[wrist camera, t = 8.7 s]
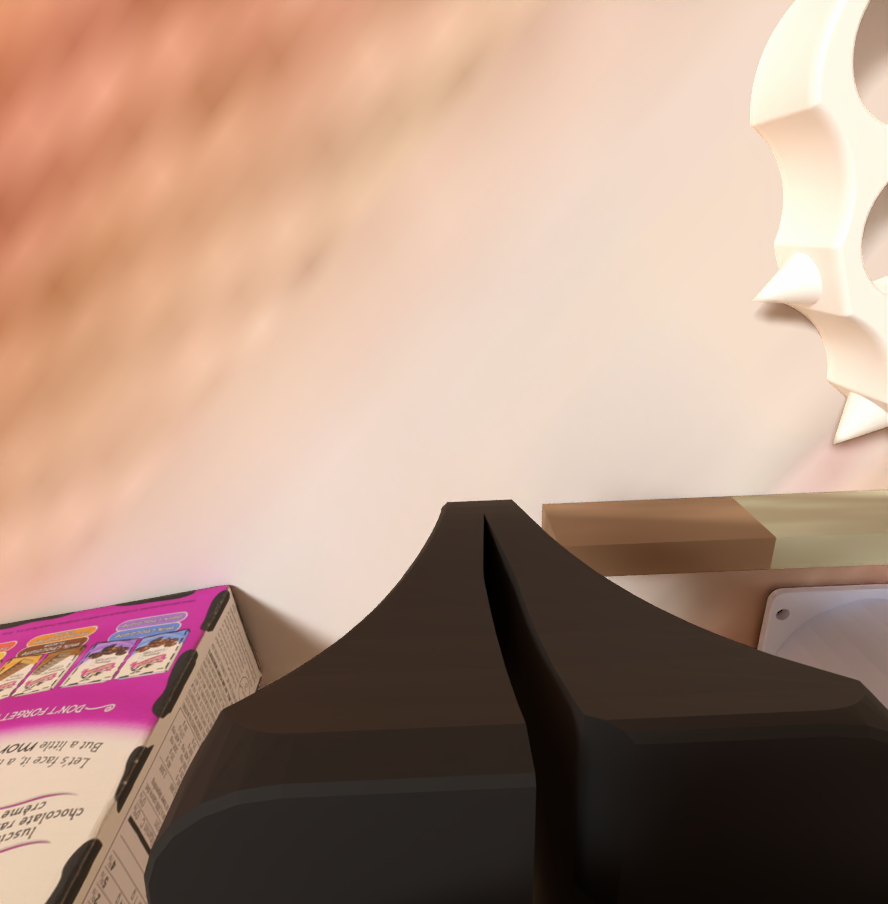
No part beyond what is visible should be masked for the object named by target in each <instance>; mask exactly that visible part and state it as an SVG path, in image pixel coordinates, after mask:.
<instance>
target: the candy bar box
mask: <svg viewBox="0 0 888 904" xmlns="http://www.w3.org/2000/svg"><path fill="white" fill-rule="evenodd" d="M261 677H262V672H261V669H260V665H259V662H258V659H257V656H256V654H255V651H254V649H253V647H252V645H251V643H250V641H249V639H248V636H247V634H246V631H245V628H244V625H243V622H242V619H241V616H240V613H239V610H238V607H237V604H236V602H235V600H234V597H233V595H232V592H231V589H230V587H229V586H226V585H224V586H216V587H210V588H205V589H199V590H193V591H188V592H182V593H177V594H171V595H166V596H161V597H155V598H150V599H144V600H138V601H133V602H127V603H122V604H116V605H111V606H106V607H100V608H95V609H89V610H84V611H78V612H71V613H66V614H60V615H54V616H48V617H43V618H37V619H31V620H25V621H19V622H13V623H7V624H2V625H0V904H148V902H147V896H146V889H145V882H144V873H145V869H146V865H147V862H148V858H149V854H150V851H151V848H152V846H153V844H154V841H155V839H156V837H157V835H158V832H159V830H160V828H161V826H162V824H163V821H164V819H165V817H166V815H167V812H168V810H169V808H170V806H171V804H172V801H173V799H174V797H175V795H176V792H177V790H178V788H179V786H180V784H181V781H182V779H183V777H184V775H185V773H186V771H187V769H188V767H189V765H190V764H191V762H192V760H193V758H194V756H195V755H196V753H197V751H198V749H199V747H200V746H201V744H202V743H203V741H204V739H205V738H206V736H207V735H208V733H209V731H210V730H211V728H212V726H213V724H214V723H215V721H216V719H217V717H218V716H219V714H220V712H221V711H222V710H223V709H224V708H226V707H228V706H230V705H232V704H234V703H236V702H238V701H240V700H242V699H244V698H246V697H247V696H249V695H251V694H253V693H255V692H257V690H258V687H259V683H260V680H261Z"/></svg>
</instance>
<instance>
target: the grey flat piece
mask: <svg viewBox="0 0 888 904" xmlns="http://www.w3.org/2000/svg"><path fill="white" fill-rule="evenodd" d="M542 529H543V530H544V531H545V532H546V533H547V534H549V535H550V536H551V537H552V538H553V539H554V540H556V541H557V542H558V543H559V544H560V545H562V546H563V547H564V548H565V549H567V550H568V551H569V552H570V553H572V554H573V555H574V556H576V557H577V558H578V559H580V560H581V561H582V562H584V563H585V564H586V565H588V566H589V567H591V568H592V569H593V570H595V571H596V572H598V573H599V574H601V575H602V576H626V575H649V574H673V573H696V572H720V571H743V570H766V569H790V568H813V567H836V566H860V565H883V564H888V490H871V491H847V492H823V493H800V494H776V495H752V496H729V497H705V498H681V499H658V500H634V501H610V502H587V503H563V504H543V506H542Z"/></svg>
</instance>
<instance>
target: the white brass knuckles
mask: <svg viewBox="0 0 888 904" xmlns="http://www.w3.org/2000/svg"><path fill="white" fill-rule="evenodd" d="M870 1H871V0H796V1H795V2H794V3H793V4H792V6H791V7H790V8H789V9H788V11H787V12H786V13H785V15H784V16H783V17H782V19H781V20H780V22H779V23H778V25H777V27H776V28H775V30H774V32H773V33H772V35H771V37H770V39H769V41H768V43H767V45H766V47H765V50H764V52H763V54H762V57H761V60H760V62H759V65H758V69H757V72H756V76H755V80H754V84H753V89H752V96H751V108H750V120H751V127H752V128H753V129H755V130H756V131H757V132H758V133H759V134H760V135H761V136H762V137H763V139H764V140H765V141H766V143H767V144H768V145H769V147H770V149H771V150H772V152H773V154H774V156H775V158H776V161H777V163H778V166H779V169H780V173H781V178H782V184H783V212H782V218H781V223H780V227H779V230H778V234H777V237H776V239H775V242H774V250H775V255H776V260H777V265H778V270H779V271H778V272H777V273H776V275H775V276H774V277H773V278H772V279H771V280H770V281H769V283H768V284H767V285H766V286H765V287H764V288H763V289H762V290H761V292H760V293H759V294H758V295H757V296H756V297H755V298H754V300H753V301H752V302H764V303H785V304H786V305H788V306H790V307H792V308H794V309H796V310H798V311H799V312H801V313H802V314H803V315H805V316H806V317H807V318H808V319H809V320H810V321H811V322H812V323H813V324H814V326H815V327H816V329H817V330H818V332H819V333H820V335H821V337H822V340H823V342H824V345H825V348H826V353H827V360H828V374H827V381H828V382H829V383H830V384H831V385H833V386H834V387H835V388H836V389H837V390H838V391H839V392H840V393H842V394H843V395H844V396H845V397H846V398H847V401H846V404H845V408H844V411H843V414H842V417H841V420H840V423H839V426H838V429H837V433H836V436H835V439H834V442H833V445H834V444H837V443H840V442H843V441H846V440H849V439H852V438H855V437H858V436H861V435H864V434H867V433H870V432H873V431H876V430H879V429H882V428H885V427H888V276H886V277H884V278H881V279H878V280H876V281H873V282H872V281H871V279H870V278H869V276H868V274H867V272H866V269H865V266H864V262H863V257H862V238H863V232H864V227H865V224H866V221H867V218H868V215H869V213H870V210H871V208H872V206H873V204H874V202H875V201H876V199H877V197H878V196H879V194H880V193H881V191H882V190H883V189H884V187H885V186H886V185H887V184H888V125H886V124H884V123H882V122H881V121H879V120H878V119H876V118H875V117H874V116H873V115H872V114H871V113H870V112H869V111H868V110H867V108H866V107H865V105H864V104H863V102H862V100H861V98H860V96H859V93H858V91H857V88H856V84H855V79H854V71H853V56H854V47H855V41H856V36H857V32H858V29H859V26H860V23H861V20H862V18H863V15H864V13H865V11H866V9H867V7H868V5H869V3H870Z"/></svg>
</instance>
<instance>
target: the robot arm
mask: <svg viewBox="0 0 888 904" xmlns="http://www.w3.org/2000/svg"><path fill="white" fill-rule="evenodd" d="M782 609H783V611H782V612H780V613H778V614H777V612H778V611H780V610H782ZM144 882H145V889H146V896H147V902H148V904H888V584H867V585H843V586H820V587H797V588H781V589H777V590H775V591H773V592H772V593H771V594H770V595H769V597H768V599H767V604H766V609H765V614H764V619H763V623H762V628H761V633H760V638H759V643H758V648H757V649H755V648H752V647H749V646H747V645H744V644H741V643H738V642H736V641H733V640H730V639H728V638H725V637H722V636H720V635H717V634H715V633H713V632H710V631H708V630H705V629H703V628H700V627H698V626H696V625H693V624H691V623H689V622H687V621H685V620H683V619H681V618H678V617H676V616H674V615H672V614H670V613H668V612H666V611H664V610H662V609H659V608H657V607H655V606H654V605H652V604H650V603H648V602H646V601H644V600H642V599H640V598H638V597H637V596H635V595H633V594H632V593H630V592H628V591H627V590H625V589H623V588H622V587H620V586H618V585H616V584H615V583H613V582H611V581H610V580H608V579H607V578H605V577H604V576H602V575H601V574H599V573H598V572H596V571H595V570H593V569H592V568H591V567H589V566H588V565H586V564H585V563H584V562H582V561H581V560H580V559H578V558H577V557H576V556H574V555H573V554H572V553H570V552H569V551H568V550H567V549H565V548H564V547H563V546H562V545H560V544H559V543H558V542H557V541H556V540H554V539H553V538H552V537H551V536H550V535H549V534H547V533H546V532H545V531H544V530H543V529H542V528H541V527H540V526H539V525H538V524H537V523H536V522H535V521H533V520H532V519H531V518H530V517H529V516H528V515H527V514H526V513H525V512H524V511H523V510H522V509H521V508H520V507H519V506H518V505H517V504H516V503H515V502H514V501H513V500H490V501H467V502H447V503H446V504H445V505H444V506H443V507H442V509H441V513H440V516H439V519H438V521H437V523H436V525H435V527H434V529H433V531H432V533H431V535H430V537H429V538H428V540H427V542H426V543H425V545H424V547H423V548H422V550H421V552H420V553H419V555H418V556H417V558H416V559H415V561H414V562H413V563H412V565H411V566H410V567H409V569H408V570H407V572H406V573H405V574H404V576H403V577H402V578H401V580H400V581H399V582H398V583H397V585H396V586H395V587H394V588H393V589H392V591H391V592H390V593H389V594H388V595H387V596H386V597H385V598H384V599H383V600H382V601H381V603H380V604H379V605H378V606H377V607H376V608H375V609H374V610H373V611H372V612H371V613H370V614H369V615H367V616H366V617H365V618H364V619H363V620H362V621H361V622H360V623H359V624H357V625H356V626H355V627H354V628H353V629H352V630H350V631H349V632H348V633H347V634H346V635H344V636H343V637H342V638H341V639H339V640H338V641H337V642H335V643H334V644H333V645H331V646H330V647H328V648H327V649H326V650H324V651H323V652H321V653H320V654H319V655H317V656H316V657H314V658H313V659H311V660H309V661H308V662H306V663H305V664H303V665H302V666H300V667H299V668H297V669H296V670H294V671H292V672H291V673H289V674H287V675H286V676H284V677H282V678H280V679H279V680H277V681H275V682H273V683H271V684H269V685H268V686H266V687H264V688H262V689H260V690H258V691H257V692H255V693H253V694H251V695H249V696H247V697H246V698H244V699H242V700H240V701H238V702H236V703H234V704H232V705H230V706H228V707H226V708H224V709H223V710H222V711H221V712H220V714H219V716H218V717H217V719H216V721H215V723H214V724H213V726H212V728H211V730H210V731H209V733H208V735H207V736H206V738H205V739H204V741H203V743H202V744H201V746H200V747H199V749H198V751H197V753H196V755H195V756H194V758H193V760H192V762H191V764H190V765H189V767H188V769H187V771H186V773H185V775H184V777H183V779H182V781H181V784H180V786H179V788H178V790H177V792H176V795H175V797H174V799H173V801H172V804H171V806H170V808H169V810H168V812H167V815H166V817H165V819H164V821H163V824H162V826H161V828H160V830H159V832H158V835H157V837H156V839H155V841H154V844H153V846H152V848H151V851H150V854H149V858H148V862H147V865H146V869H145V873H144Z"/></svg>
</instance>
